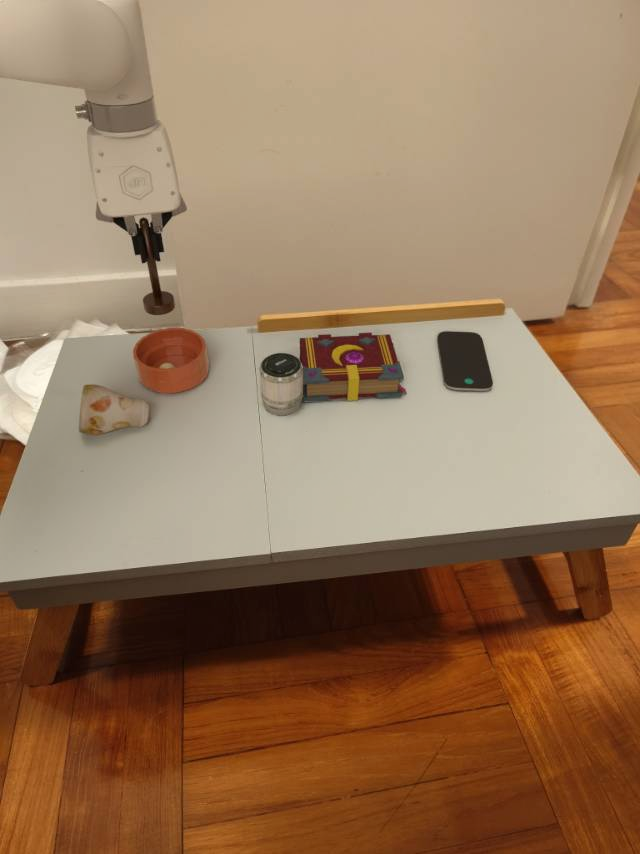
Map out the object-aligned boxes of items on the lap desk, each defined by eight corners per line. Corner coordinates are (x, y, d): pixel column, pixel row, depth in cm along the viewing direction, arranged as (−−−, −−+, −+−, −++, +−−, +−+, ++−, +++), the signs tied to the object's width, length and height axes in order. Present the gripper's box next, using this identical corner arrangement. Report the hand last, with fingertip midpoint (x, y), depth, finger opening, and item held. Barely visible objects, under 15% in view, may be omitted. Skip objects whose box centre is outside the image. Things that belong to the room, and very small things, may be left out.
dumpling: (159, 383, 94) (151, 371, 95) (173, 385, 96) (165, 373, 97) (169, 370, 93) (161, 357, 94) (183, 372, 95) (174, 360, 96)
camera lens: (311, 403, 93) (311, 362, 88) (280, 423, 90) (278, 381, 85) (284, 384, 96) (283, 343, 91) (253, 402, 93) (249, 361, 88)
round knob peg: (147, 317, 88) (128, 226, 79) (142, 303, 91) (123, 213, 82) (178, 312, 89) (163, 221, 80) (171, 297, 92) (156, 209, 83)
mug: (158, 437, 88) (110, 405, 80) (104, 457, 91) (52, 427, 83) (160, 395, 92) (114, 359, 84) (108, 414, 95) (59, 382, 87)
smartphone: (445, 386, 95) (436, 330, 106) (444, 390, 96) (435, 334, 106) (495, 388, 95) (481, 331, 106) (493, 392, 95) (480, 336, 106)
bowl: (142, 401, 93) (135, 375, 90) (137, 358, 101) (130, 333, 97) (214, 389, 95) (210, 363, 92) (204, 348, 103) (200, 323, 100)
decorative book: (298, 358, 101) (298, 333, 98) (395, 354, 102) (398, 329, 99) (303, 404, 93) (303, 378, 90) (408, 398, 94) (412, 373, 91)
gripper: (53, 129, 68) (92, 278, 80) (194, 119, 71) (210, 264, 84) (54, 108, 73) (91, 251, 85) (186, 100, 76) (203, 239, 89)
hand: (150, 257), depth 84 cm, fingers closed on round knob peg, 1 cm apart
